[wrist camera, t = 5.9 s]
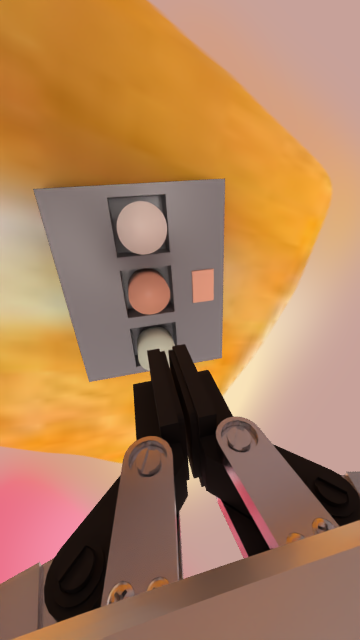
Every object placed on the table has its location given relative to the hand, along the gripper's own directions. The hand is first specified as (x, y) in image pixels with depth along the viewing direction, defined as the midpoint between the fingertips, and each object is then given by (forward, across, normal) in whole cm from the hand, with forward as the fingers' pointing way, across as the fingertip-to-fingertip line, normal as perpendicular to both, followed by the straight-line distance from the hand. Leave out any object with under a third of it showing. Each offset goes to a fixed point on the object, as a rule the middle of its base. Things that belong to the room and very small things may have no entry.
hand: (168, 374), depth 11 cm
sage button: (+12, 0, +6) cm, 14 cm away
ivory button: (+13, 0, -5) cm, 14 cm away
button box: (+15, 0, 0) cm, 15 cm away
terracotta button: (+14, 0, 0) cm, 14 cm away
